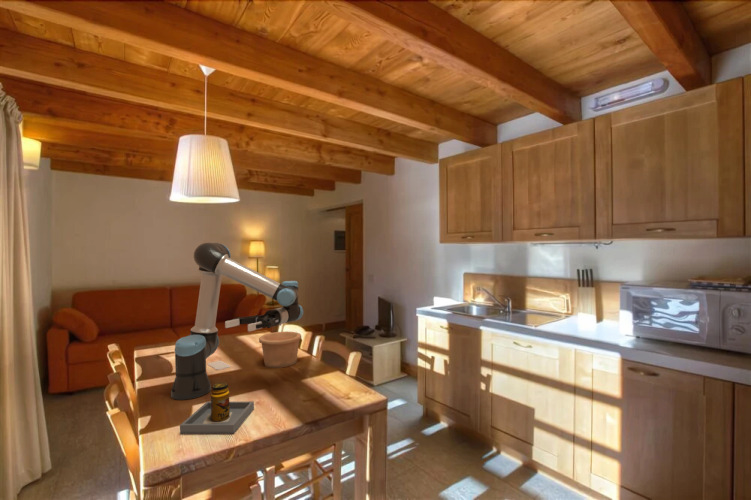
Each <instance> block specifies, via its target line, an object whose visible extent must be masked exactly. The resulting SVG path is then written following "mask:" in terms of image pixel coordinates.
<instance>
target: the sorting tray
mask: <svg viewBox="0 0 751 500" xmlns="http://www.w3.org/2000/svg"><path fill="white" fill-rule="evenodd" d="M229 408H230V410H229V411H230V412H232V415H231V417H230V419H229V421H228V422H222V423H210V424H203V423H204V421H205V419H206V417H207V415H208V414H211V401H206V402H205V403H204V404H203V405H201V407H199V408H198V409H197V410H196V411H195V412H193V413H192V414H191V415H190V416H188V418H186V419H185V420H184V421H183V422H182V423H180V425H179V435H234V434H236V432H237V431H238V430H239V428H241V426H242V424H243V423H244V422H245V421H246V420H247V418H248V417H249V416H250V415H251V414H252V413H253V411H254V410H255V402H254V401H253V400H251V401H229Z"/></svg>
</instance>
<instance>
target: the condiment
mask: <svg viewBox="0 0 751 500" xmlns="http://www.w3.org/2000/svg"><path fill="white" fill-rule="evenodd" d="M210 402H211V414H208V415H207V417H206V419H205V421H204V423H203V424H210V423H222V422H228V421H229V419H230V417H231V415H232V412H230V411H229V410H230V408H229V402H230V390H229V384H228V383H227V382H217V383H215V384H213V385H211V393H210Z"/></svg>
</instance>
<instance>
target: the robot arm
mask: <svg viewBox="0 0 751 500" xmlns="http://www.w3.org/2000/svg"><path fill="white" fill-rule="evenodd" d="M193 260H194V262H195V265H197V266H199V267H198V272H199V273H200V274H201V278H200V286H199V293H198V300H197V301H198V302H197V306H196V307H197V308H196V316H195V321H194V326H192V328H190V334H189V335H187V336H183V337H179V339H177V340H176V342H175V344H174V345H175V346H174V362H175V364H174V365H175V366H174V367H175V377H174V381H173V384H172V387H171V390H170V396H171V398H172V399H174V400H179V401H180V400H181V401H183V400H192V399H197V398H200V397H202V396H205V395H208V393H210V392H211V391H212V384H211V381H210V379H209V375H208V373H207V359H208V358H209V357H210V356H212V355H213V354H214V353H215V352H216V350H218V347H219V344H220V338H219V336H218V333H219V329H218V328H217V327H216V322H217V314H218V306H219V301H220V300H219V299H220V291H221V285H222V278H223V276H224V277H226V278H228V279H230V280H233V281H235V282H237V283H239V284H241V285H242V286H246V287H247V288H249V289H252V290H253V291H256V292H258V293H260V294H261V295H264V296H266V297H268V298H270V299H272V300H273V301H275V302H277V303H278V304H279V305H280V306H282V307H277V308H274V309H273V308H272V309H269V310H266V311H265V313H264V314H260V315H258V314H256V315H250V316H242V317H241V316H239V317H235V318H233V319H230V320H226V321H225V322H224V328H225V329H228V328H233V327H239V326H240V325H247V332H253V331H256V330H257V331H258V330H261V329H266V328H267V329H271V328H273V327H277V326H281V327H282V325H284V324H288V323H292V322H296V321H299V320H300V319H302V318H303V315H304V308H303V306H302V305H300V304H299V282H298V281H297V280H285V281H282V283H280V282H278V281H276V280H274V279H272V278H270V277H268V276H266V275H264V274H262V273H260V272H258V271H256V270H254V269H252V268H250V267H248V266H246V265H244V264H242V263H239V262H238V261H236V260H235V259H232V258H231V252H230V249H229V248H228V247H227V246H226V245H225V244H222V243H218V242H204V243H201V244H200V245H197V247H196V248H195V250H194V252H193Z"/></svg>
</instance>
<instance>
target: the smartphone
mask: <svg viewBox="0 0 751 500" xmlns="http://www.w3.org/2000/svg"><path fill="white" fill-rule="evenodd" d="M207 365H208V366H209V367H211V368H212V369H214V370H215V371H221V370H226V369H229V368H231V365H230V364H228V363H226V362H224V361H222V360H216V361H212V362H206V366H207Z"/></svg>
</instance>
